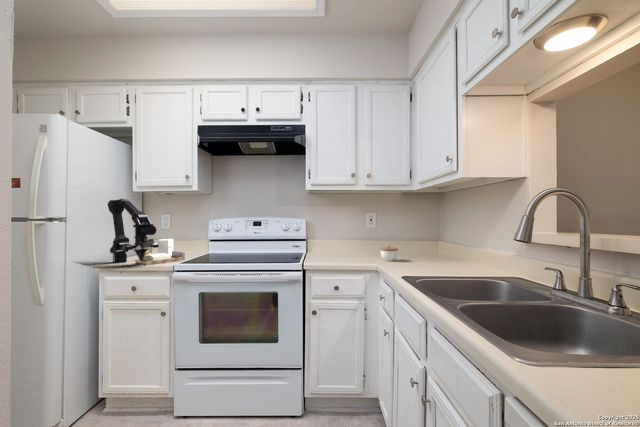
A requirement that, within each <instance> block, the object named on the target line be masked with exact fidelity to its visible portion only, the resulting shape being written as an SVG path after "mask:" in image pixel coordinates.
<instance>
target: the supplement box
mask: <svg viewBox="0 0 640 427" xmlns="http://www.w3.org/2000/svg"><path fill="white" fill-rule="evenodd" d="M157 240H158V241H157V243H158V245H159V247H157V248H158V250H157V251H158V252H157V254H161V253H163V254H170V255H171V256H172V251H174V238H167V239H166V238H163V239H157Z"/></svg>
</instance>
